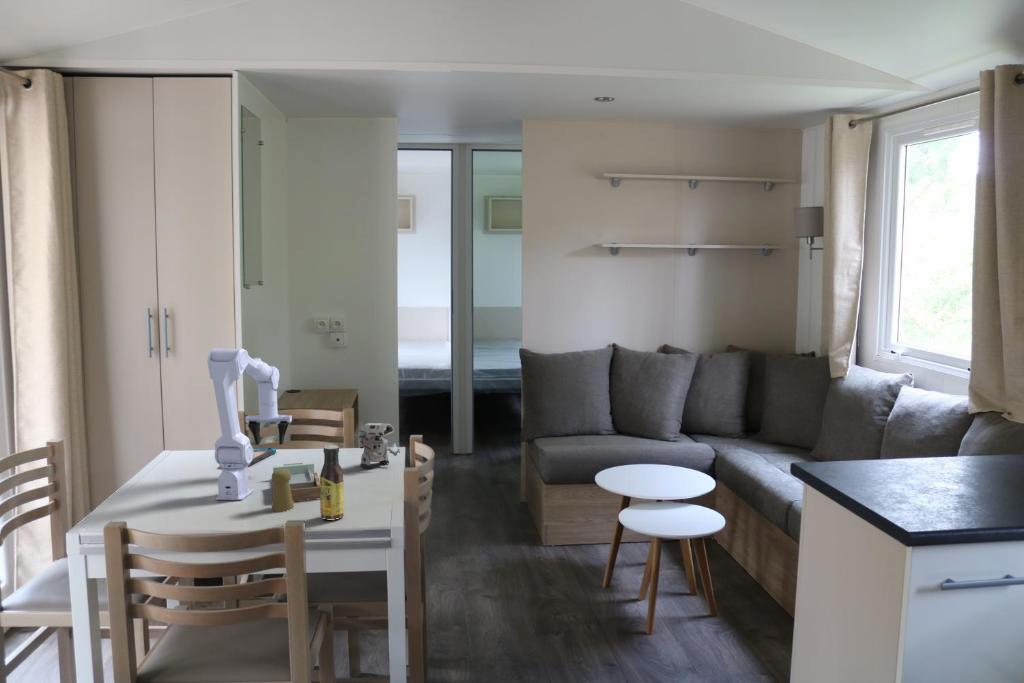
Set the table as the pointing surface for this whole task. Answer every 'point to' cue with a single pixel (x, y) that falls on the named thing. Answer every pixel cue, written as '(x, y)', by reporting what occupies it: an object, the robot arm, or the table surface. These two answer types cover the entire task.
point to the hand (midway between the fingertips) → (269, 443)
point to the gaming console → (260, 454)
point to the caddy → (307, 491)
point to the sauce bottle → (331, 485)
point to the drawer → (299, 474)
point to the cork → (281, 491)
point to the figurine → (376, 444)
